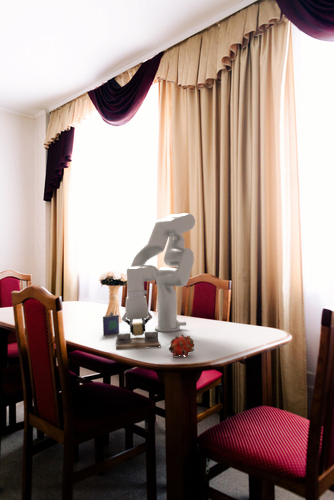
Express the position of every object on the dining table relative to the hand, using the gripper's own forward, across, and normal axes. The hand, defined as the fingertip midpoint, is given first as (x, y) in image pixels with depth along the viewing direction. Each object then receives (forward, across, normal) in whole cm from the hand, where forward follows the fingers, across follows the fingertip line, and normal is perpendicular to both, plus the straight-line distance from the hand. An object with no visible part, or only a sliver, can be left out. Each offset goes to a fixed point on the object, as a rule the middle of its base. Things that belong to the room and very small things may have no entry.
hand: (137, 333), depth 173 cm
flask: (+2, +12, -10) cm, 16 cm away
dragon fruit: (+2, -14, +35) cm, 37 cm away
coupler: (0, 0, 0) cm, 0 cm away
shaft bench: (+2, +1, +13) cm, 13 cm away
